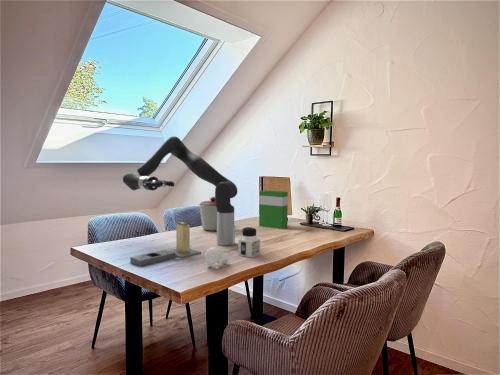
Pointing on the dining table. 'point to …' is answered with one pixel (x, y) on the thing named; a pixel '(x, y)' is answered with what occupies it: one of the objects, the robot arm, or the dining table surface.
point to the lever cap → (183, 237)
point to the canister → (209, 214)
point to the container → (249, 243)
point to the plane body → (152, 258)
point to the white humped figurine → (215, 257)
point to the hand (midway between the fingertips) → (166, 184)
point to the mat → (182, 255)
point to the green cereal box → (273, 209)
